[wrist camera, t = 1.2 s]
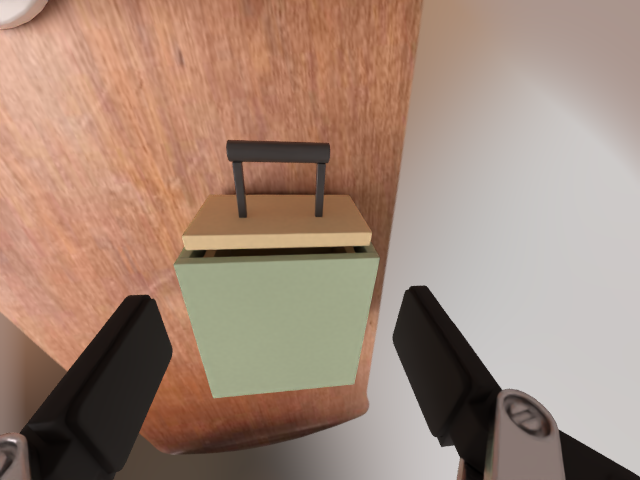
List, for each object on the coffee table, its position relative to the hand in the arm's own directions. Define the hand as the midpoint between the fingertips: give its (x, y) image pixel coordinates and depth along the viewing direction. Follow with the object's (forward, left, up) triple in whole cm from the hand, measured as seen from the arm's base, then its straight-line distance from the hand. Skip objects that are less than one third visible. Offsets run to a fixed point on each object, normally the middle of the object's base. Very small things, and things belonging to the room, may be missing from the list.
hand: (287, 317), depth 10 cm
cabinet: (+8, -8, -18) cm, 21 cm away
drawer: (+4, -5, -17) cm, 18 cm away
